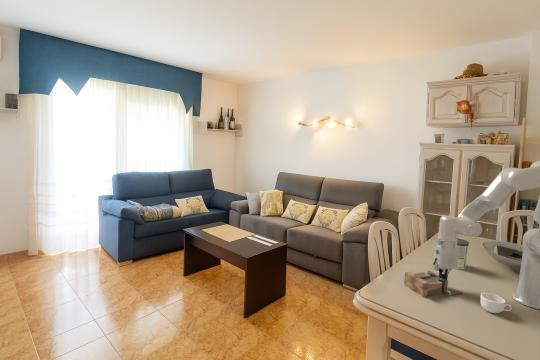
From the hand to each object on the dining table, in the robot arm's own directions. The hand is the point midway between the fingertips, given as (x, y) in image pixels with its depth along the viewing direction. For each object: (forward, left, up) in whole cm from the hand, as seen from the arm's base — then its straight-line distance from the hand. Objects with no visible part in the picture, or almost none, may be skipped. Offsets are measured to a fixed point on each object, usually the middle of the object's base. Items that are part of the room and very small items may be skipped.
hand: (442, 281), depth 134 cm
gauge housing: (-1, +6, -3) cm, 7 cm away
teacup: (-21, -4, -3) cm, 22 cm away
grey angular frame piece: (-1, +8, -2) cm, 8 cm away
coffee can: (+18, -27, -3) cm, 33 cm away
